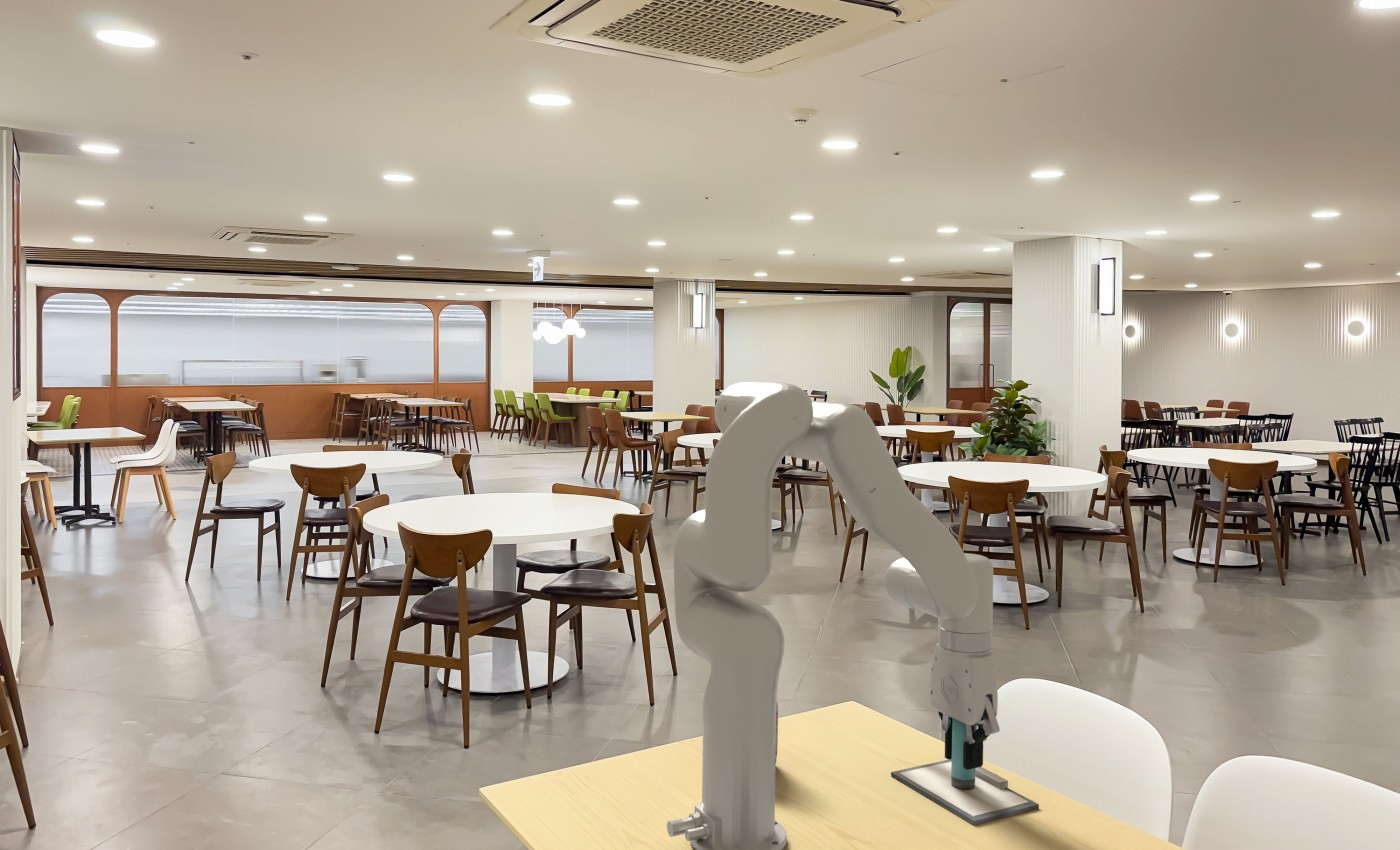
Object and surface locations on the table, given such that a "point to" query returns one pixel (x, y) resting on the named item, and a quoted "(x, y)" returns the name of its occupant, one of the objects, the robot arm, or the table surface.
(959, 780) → the marker
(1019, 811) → the clipboard
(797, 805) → the table surface
